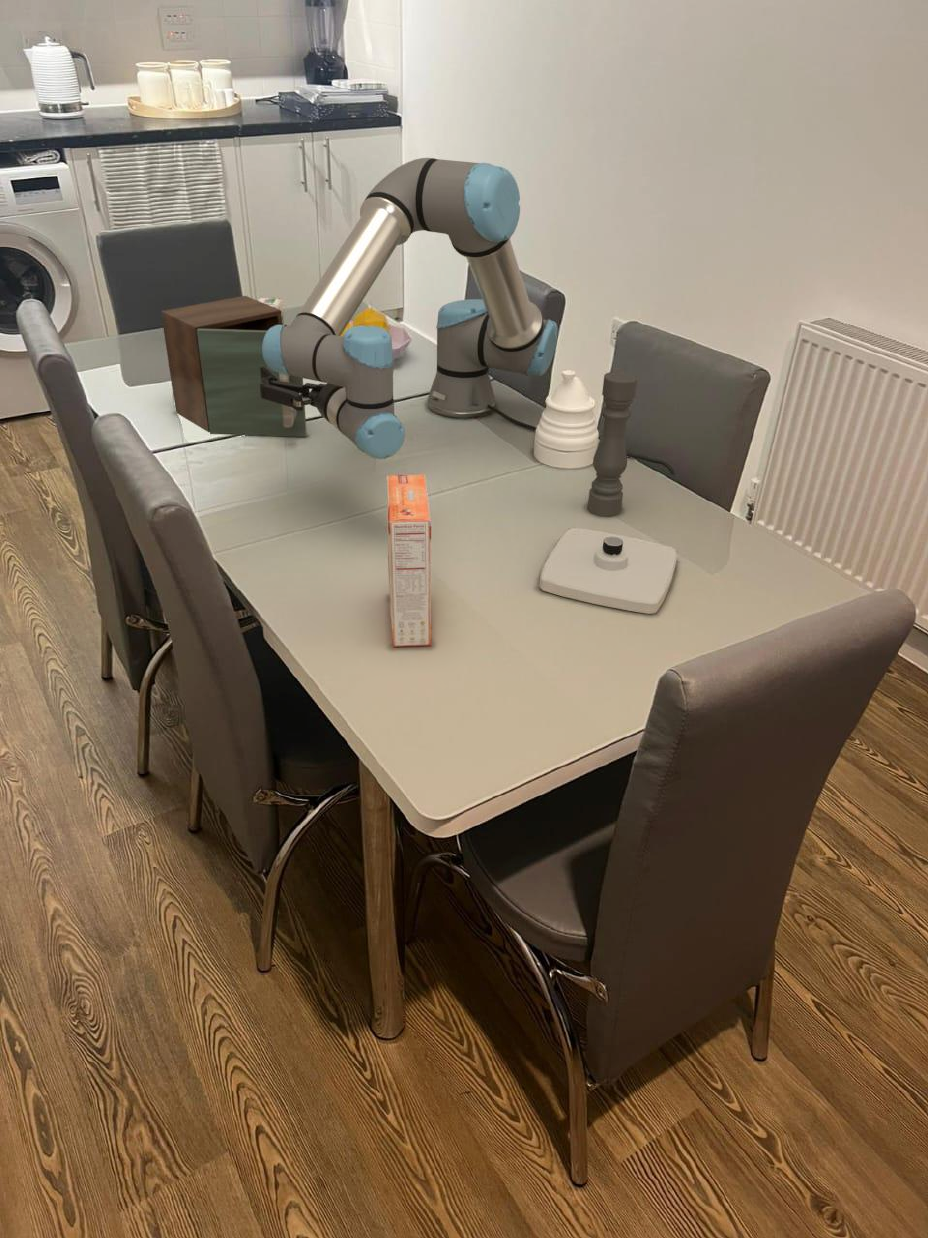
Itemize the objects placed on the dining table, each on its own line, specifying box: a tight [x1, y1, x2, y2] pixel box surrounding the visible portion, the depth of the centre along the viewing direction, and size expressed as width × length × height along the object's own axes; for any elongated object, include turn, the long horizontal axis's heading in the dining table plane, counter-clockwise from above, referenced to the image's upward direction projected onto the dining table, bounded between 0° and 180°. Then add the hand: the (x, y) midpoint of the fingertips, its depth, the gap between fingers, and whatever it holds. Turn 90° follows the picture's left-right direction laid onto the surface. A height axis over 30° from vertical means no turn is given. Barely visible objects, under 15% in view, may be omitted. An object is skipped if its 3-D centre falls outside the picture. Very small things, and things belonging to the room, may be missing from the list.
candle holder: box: [587, 370, 638, 518], centre depth 165 cm, size 6×6×25 cm
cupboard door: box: [197, 328, 308, 438], centre depth 187 cm, size 8×20×22 cm, turn 90°
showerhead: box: [539, 527, 678, 615], centre depth 151 cm, size 20×6×20 cm
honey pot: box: [533, 369, 600, 470], centre depth 187 cm, size 13×13×18 cm
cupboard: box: [160, 295, 282, 433], centre depth 200 cm, size 14×20×22 cm
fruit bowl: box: [341, 307, 413, 360], centre depth 235 cm, size 28×27×11 cm
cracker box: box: [386, 474, 432, 648], centre depth 134 cm, size 14×6×21 cm, turn 5°
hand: (297, 368), depth 173 cm, fingers open, 13 cm apart
